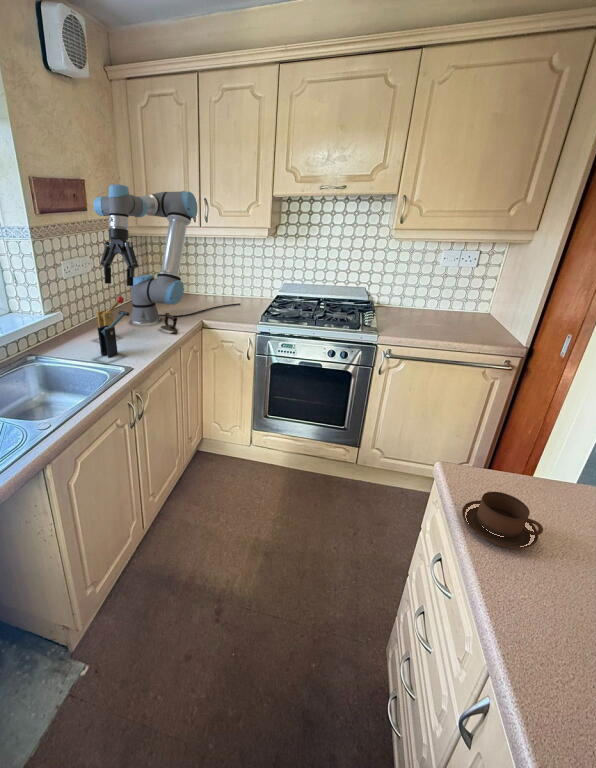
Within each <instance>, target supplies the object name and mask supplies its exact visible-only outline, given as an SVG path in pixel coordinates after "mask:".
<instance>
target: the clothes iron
mask: <svg viewBox="0 0 596 768" xmlns="http://www.w3.org/2000/svg"><path fill="white" fill-rule="evenodd" d="M164 315H165V317H164V325H161V326H159V328H160V329H163V330H165V331H168V332H169V334H170V335H177V334H178V330H177V328H176V326H177V321H178V317H173V316H174V315H172V314H170V313H169V312H165V313H164ZM169 319H170V320H171V321H172V324H169Z"/></svg>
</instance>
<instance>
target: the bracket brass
mask: <svg viewBox="0 0 596 768" xmlns="http://www.w3.org/2000/svg"><path fill="white" fill-rule="evenodd" d="M104 311H105V312H106V313H103V312H104ZM102 313H103V319H104V320H103V319H102V318H101V316H100V315H101V314H102ZM96 316H97V317H96V318H97V323H98V324H97V325H98V327H102V326H105V325H108V327H109V326H110V325H111V324H112V323H113V322H114V317H113V310H112V311H110V312H107V310H106V309H103V310H100V311H99V310H98V311H96Z"/></svg>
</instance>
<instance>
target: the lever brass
mask: <svg viewBox="0 0 596 768" xmlns="http://www.w3.org/2000/svg"><path fill="white" fill-rule="evenodd" d="M124 301H125V299H124V297H123V296H121V295H119V296H117V297H116V301H115V302H113V303H114V304H112V305H111V307H109V309H107V310H106V312H110V311H112V312H113V310H114V309H115V308H116V307H117V306H118V305H119V304H123V303H124ZM106 312H105V311H104V312H103V313H106ZM103 313H102V314H101V315H100V316H101V318H102V319H103ZM103 320H104V319H103Z"/></svg>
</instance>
